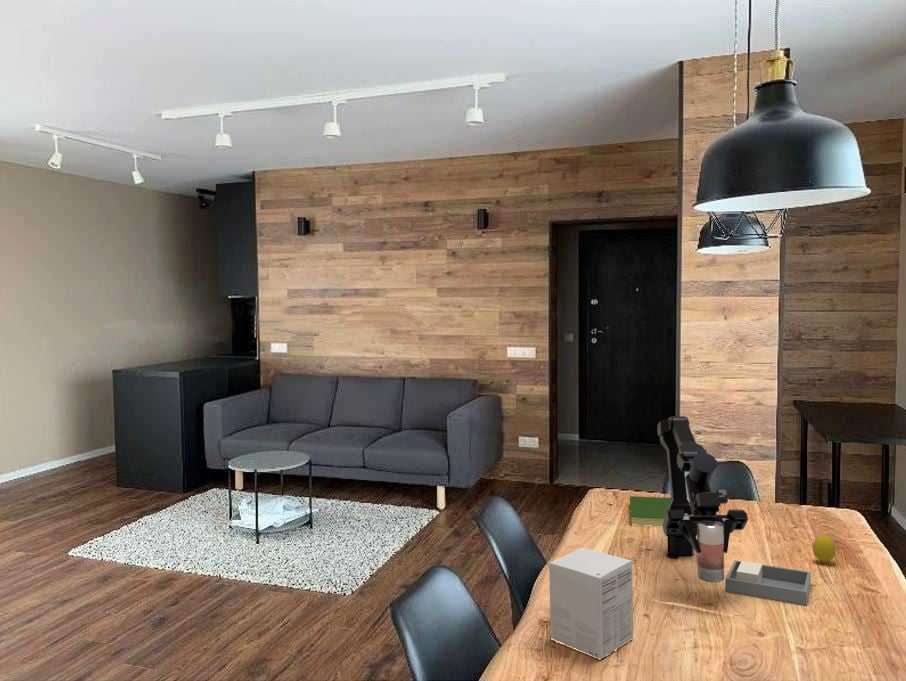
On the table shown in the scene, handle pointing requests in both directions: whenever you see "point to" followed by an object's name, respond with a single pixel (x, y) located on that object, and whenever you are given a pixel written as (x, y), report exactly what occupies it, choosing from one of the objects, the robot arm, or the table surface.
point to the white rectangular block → (749, 572)
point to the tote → (772, 584)
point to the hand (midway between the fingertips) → (712, 552)
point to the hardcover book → (648, 510)
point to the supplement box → (591, 601)
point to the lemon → (824, 548)
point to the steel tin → (710, 551)
